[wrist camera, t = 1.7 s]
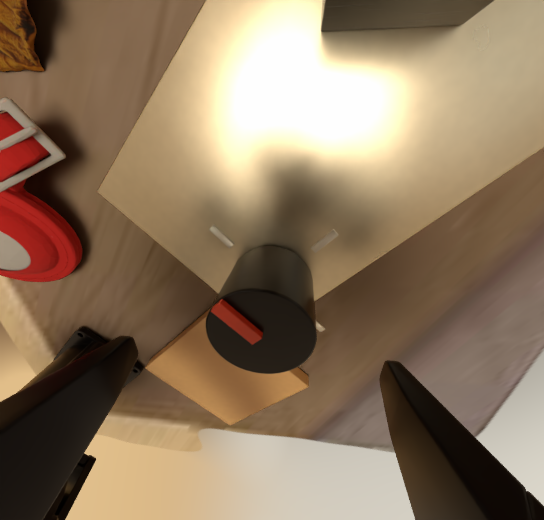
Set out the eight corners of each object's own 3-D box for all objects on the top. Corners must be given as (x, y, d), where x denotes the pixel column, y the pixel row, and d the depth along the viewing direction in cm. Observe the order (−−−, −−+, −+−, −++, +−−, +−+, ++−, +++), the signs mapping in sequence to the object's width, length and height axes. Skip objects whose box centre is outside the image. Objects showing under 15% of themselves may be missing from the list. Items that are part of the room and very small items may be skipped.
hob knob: (330, 286, 12) (342, 350, 8) (271, 325, 14) (259, 394, 10) (272, 227, 11) (255, 271, 7) (216, 278, 13) (180, 335, 9)
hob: (275, 332, 17) (271, 361, 15) (120, 199, 14) (83, 210, 12) (592, 123, 10) (683, 115, 8) (418, -270, 7) (482, -504, 4)
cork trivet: (232, 414, 23) (230, 425, 22) (150, 358, 21) (144, 368, 20) (308, 375, 19) (308, 387, 18) (218, 301, 17) (213, 309, 16)
